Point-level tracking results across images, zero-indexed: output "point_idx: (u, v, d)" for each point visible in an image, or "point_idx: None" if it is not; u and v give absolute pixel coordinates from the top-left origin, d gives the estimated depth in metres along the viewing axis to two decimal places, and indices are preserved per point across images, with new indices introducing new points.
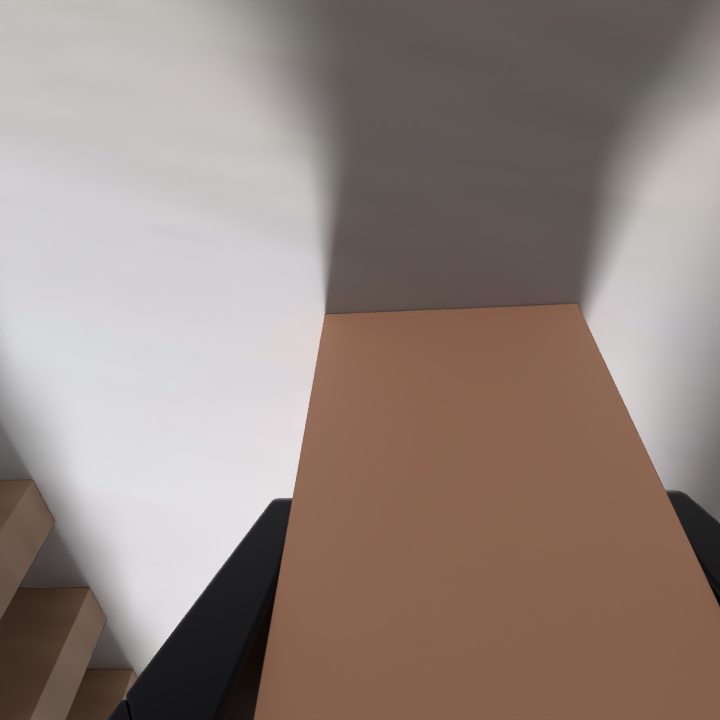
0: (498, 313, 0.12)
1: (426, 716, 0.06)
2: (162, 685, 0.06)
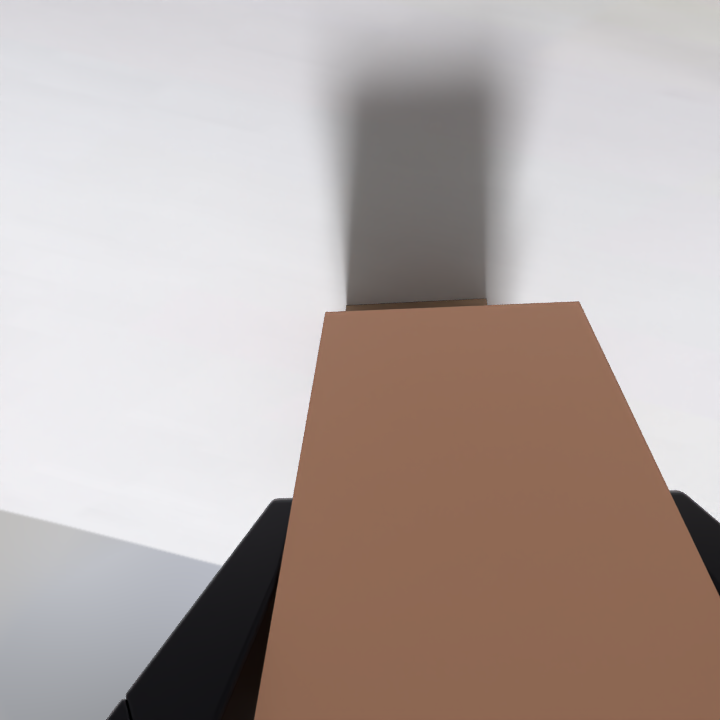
0: (499, 311, 0.12)
1: (428, 715, 0.06)
2: (162, 685, 0.06)
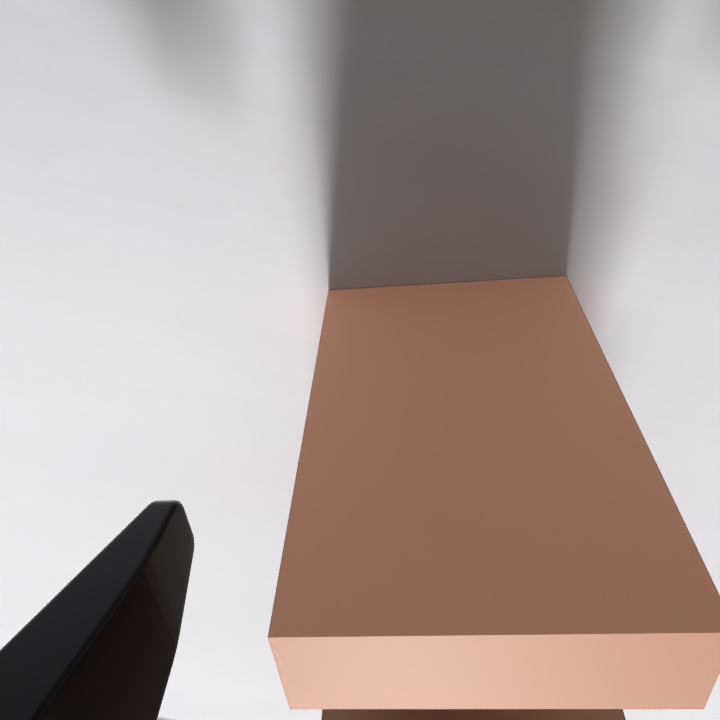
0: (491, 286, 0.13)
1: (423, 621, 0.07)
2: None
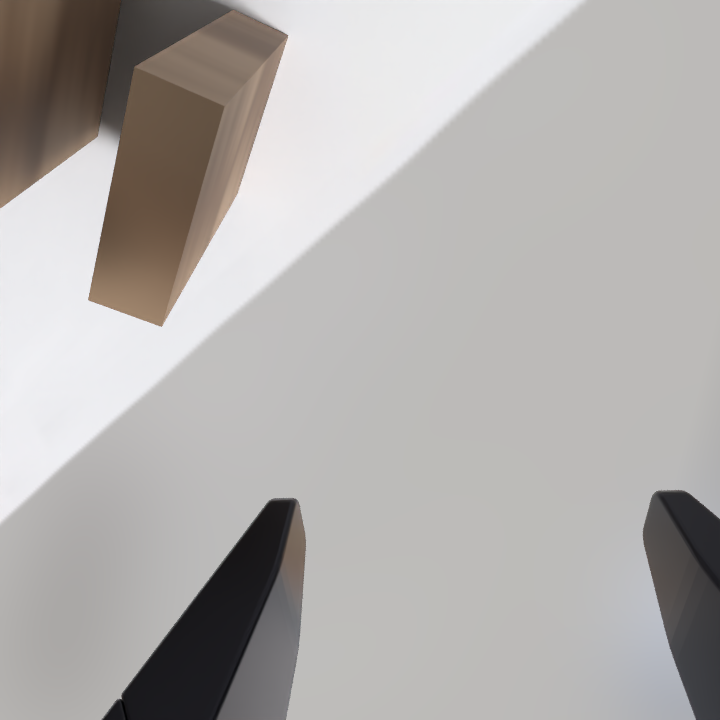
0: None
1: None
2: (158, 685, 0.06)
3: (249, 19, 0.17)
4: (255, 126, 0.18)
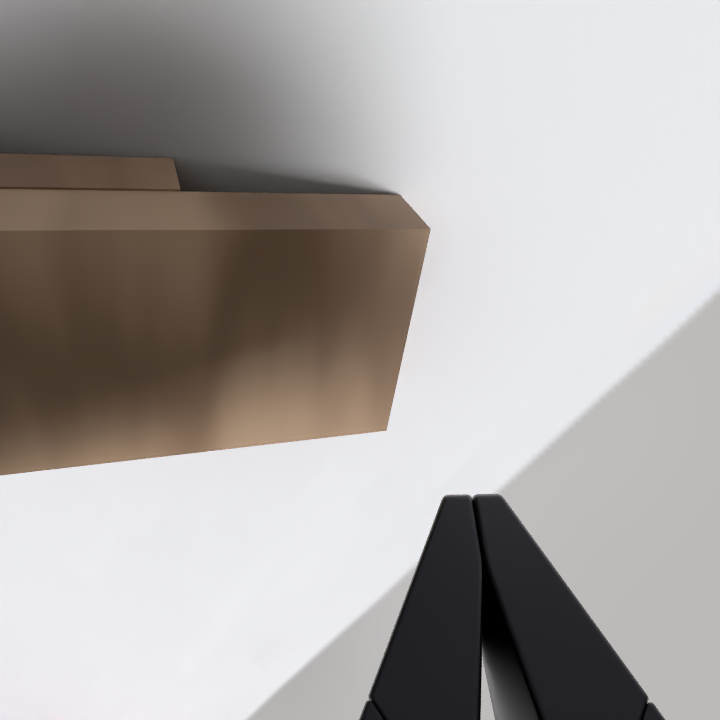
0: None
1: None
2: (405, 686, 0.06)
3: (397, 205, 0.12)
4: (356, 338, 0.13)
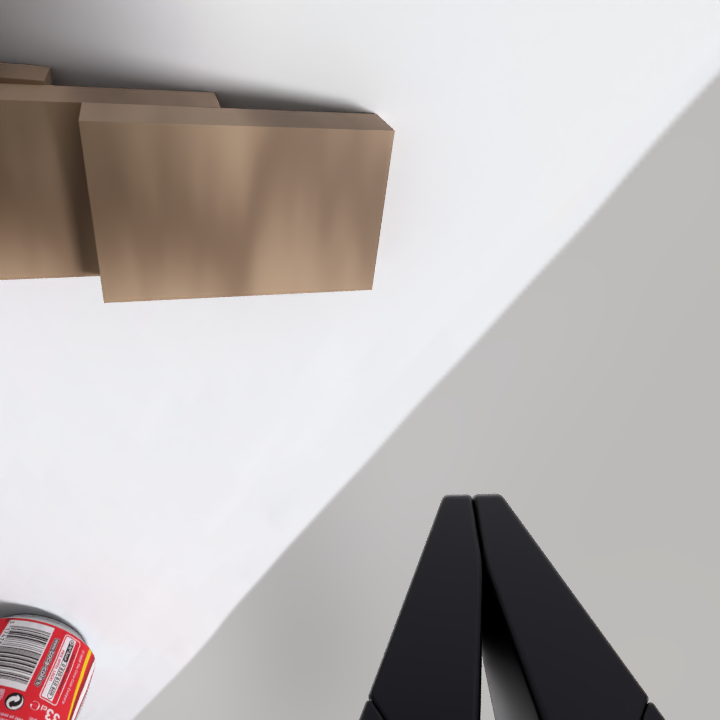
0: None
1: None
2: (405, 686, 0.06)
3: (373, 119, 0.18)
4: (347, 212, 0.18)
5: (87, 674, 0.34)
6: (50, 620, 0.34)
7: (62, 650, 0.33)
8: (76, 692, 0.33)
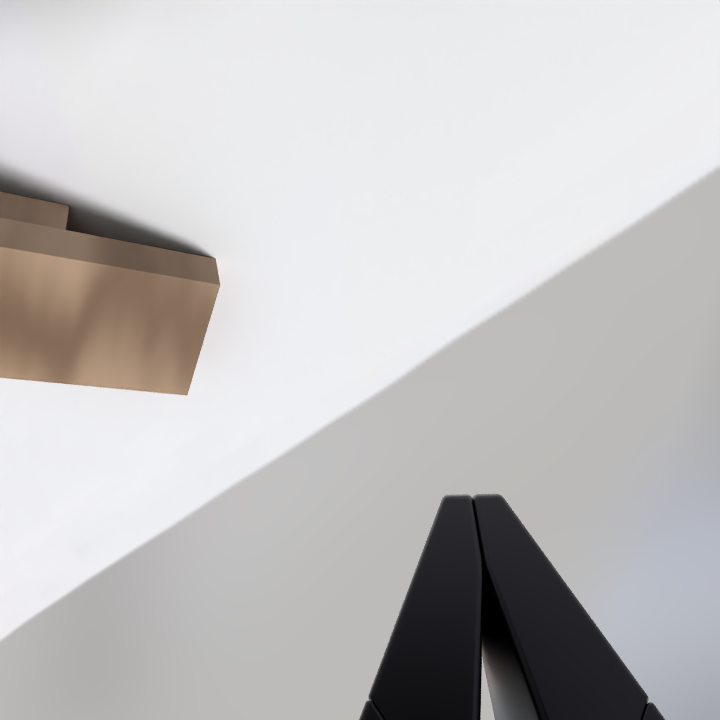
0: None
1: None
2: (405, 686, 0.06)
3: (209, 265, 0.21)
4: (170, 336, 0.21)
5: None
6: None
7: None
8: None
